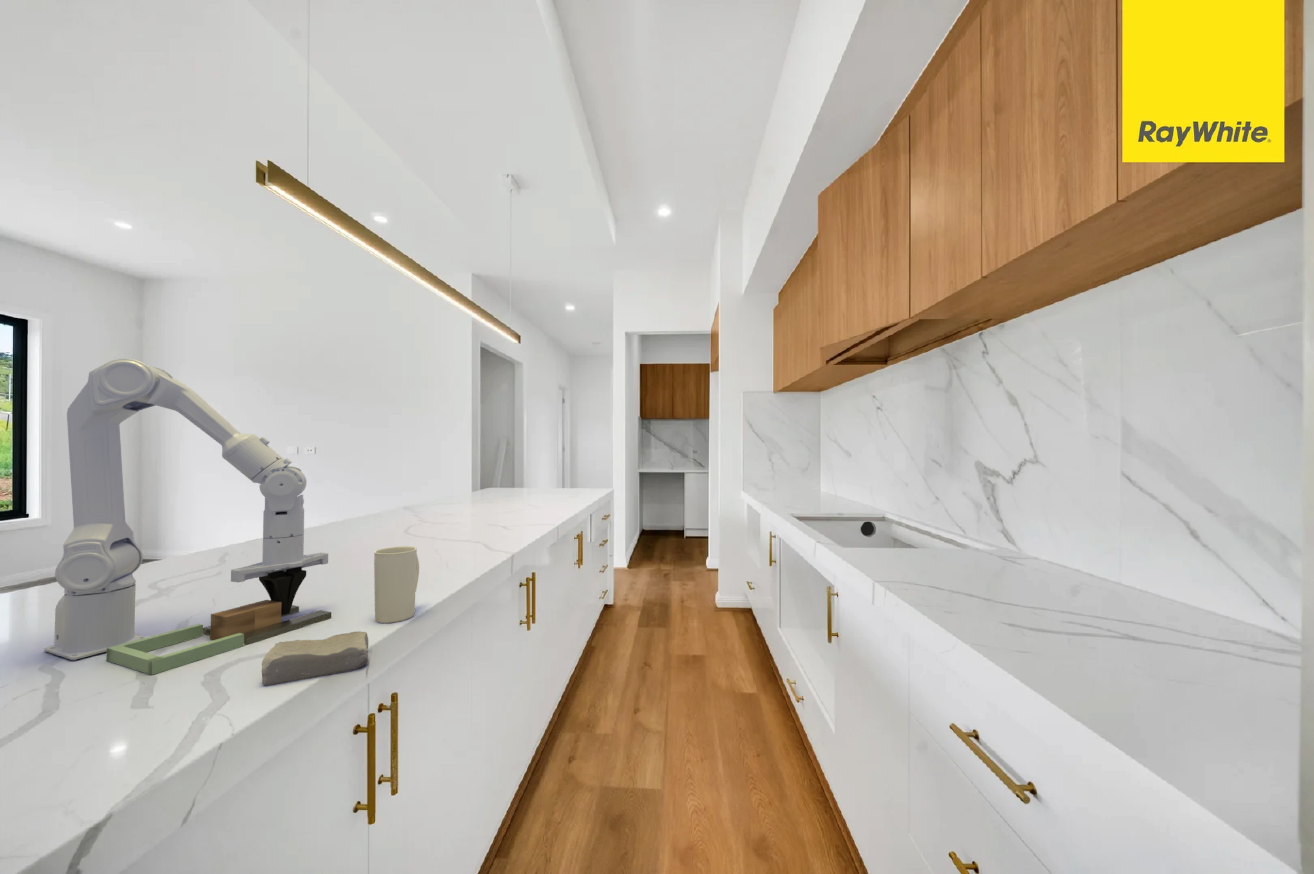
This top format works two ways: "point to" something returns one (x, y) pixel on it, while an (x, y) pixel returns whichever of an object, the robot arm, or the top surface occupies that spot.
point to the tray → (151, 664)
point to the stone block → (314, 658)
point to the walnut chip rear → (266, 612)
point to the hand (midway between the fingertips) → (282, 613)
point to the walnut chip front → (232, 622)
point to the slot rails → (281, 625)
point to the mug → (395, 583)
